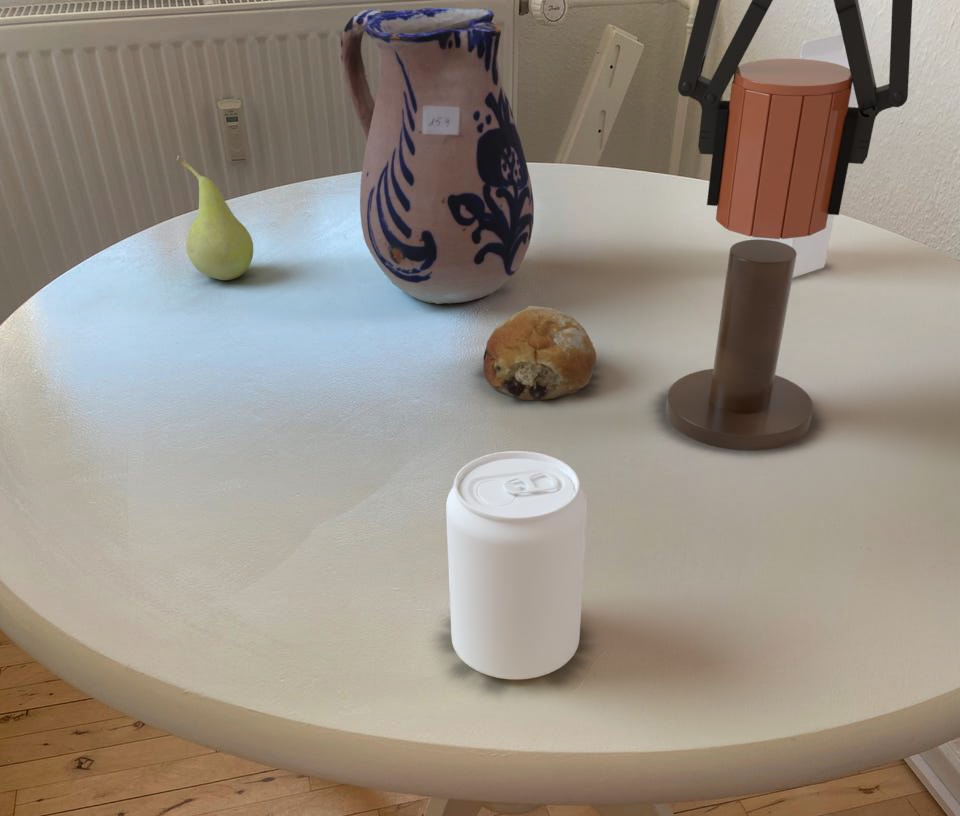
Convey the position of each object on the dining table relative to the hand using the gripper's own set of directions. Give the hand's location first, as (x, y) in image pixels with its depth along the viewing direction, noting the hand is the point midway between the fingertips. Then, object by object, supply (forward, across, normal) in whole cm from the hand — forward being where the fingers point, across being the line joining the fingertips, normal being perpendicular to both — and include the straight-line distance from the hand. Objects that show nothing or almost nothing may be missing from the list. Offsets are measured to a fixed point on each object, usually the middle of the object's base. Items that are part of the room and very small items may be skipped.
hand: (773, 203), depth 78 cm
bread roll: (+18, -18, +2) cm, 25 cm away
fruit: (+17, -57, +16) cm, 62 cm away
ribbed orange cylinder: (+1, 0, 0) cm, 1 cm away
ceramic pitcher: (+17, -34, +20) cm, 43 cm away
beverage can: (+18, -10, -34) cm, 40 cm away
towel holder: (+18, 0, 0) cm, 18 cm away
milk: (+18, +1, +35) cm, 39 cm away
